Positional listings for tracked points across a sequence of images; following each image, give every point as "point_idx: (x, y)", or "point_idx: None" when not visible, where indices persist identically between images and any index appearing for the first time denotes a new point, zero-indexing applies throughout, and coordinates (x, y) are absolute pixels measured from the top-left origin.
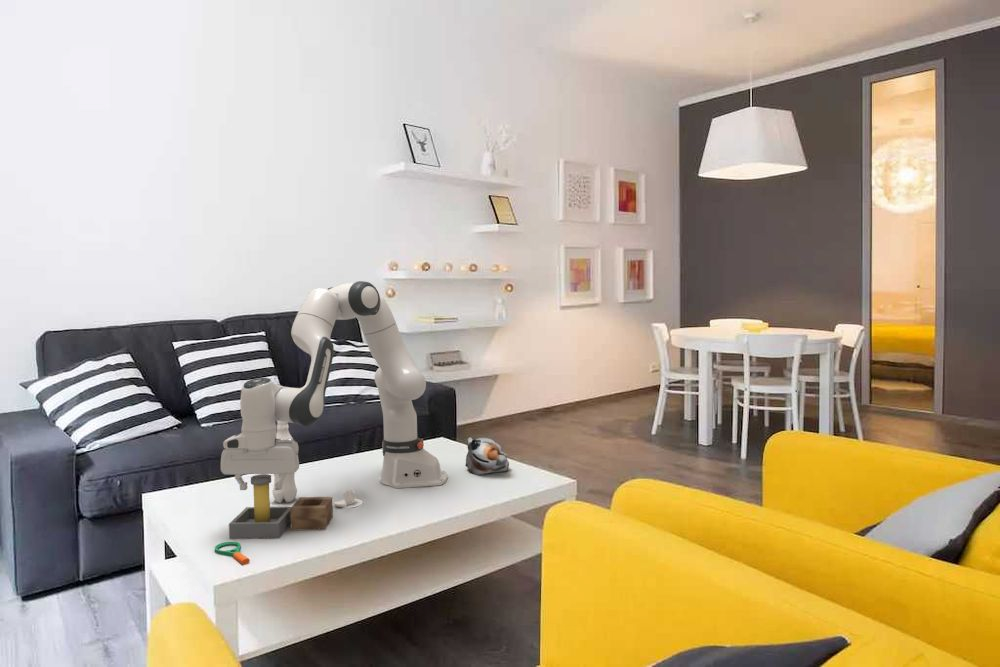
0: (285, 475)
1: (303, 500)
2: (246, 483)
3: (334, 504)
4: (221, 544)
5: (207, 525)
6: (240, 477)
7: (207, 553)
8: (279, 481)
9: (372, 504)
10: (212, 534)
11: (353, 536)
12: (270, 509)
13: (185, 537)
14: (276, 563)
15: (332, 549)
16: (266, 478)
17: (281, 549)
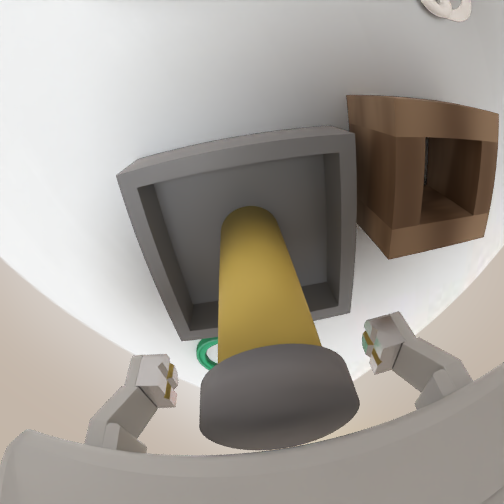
0: (456, 372)
1: (422, 151)
2: (164, 389)
3: (425, 4)
4: (202, 349)
5: (49, 227)
6: (119, 422)
7: (196, 369)
8: (407, 378)
9: (489, 15)
10: (115, 286)
11: (483, 240)
12: (246, 162)
13: (73, 308)
14: (357, 369)
15: (446, 304)
16: (335, 429)
17: (356, 330)
